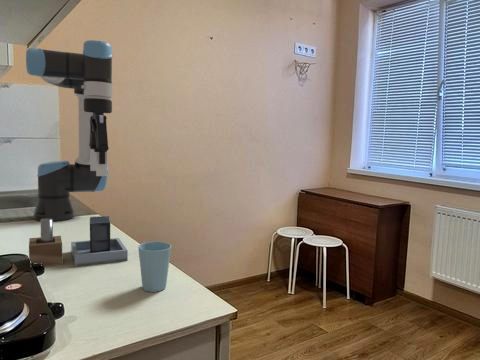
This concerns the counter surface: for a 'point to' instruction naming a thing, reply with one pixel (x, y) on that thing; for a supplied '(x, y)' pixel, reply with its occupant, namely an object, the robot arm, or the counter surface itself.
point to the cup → (154, 265)
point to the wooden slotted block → (45, 251)
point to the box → (99, 234)
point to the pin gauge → (46, 230)
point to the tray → (98, 253)
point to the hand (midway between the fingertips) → (98, 173)
